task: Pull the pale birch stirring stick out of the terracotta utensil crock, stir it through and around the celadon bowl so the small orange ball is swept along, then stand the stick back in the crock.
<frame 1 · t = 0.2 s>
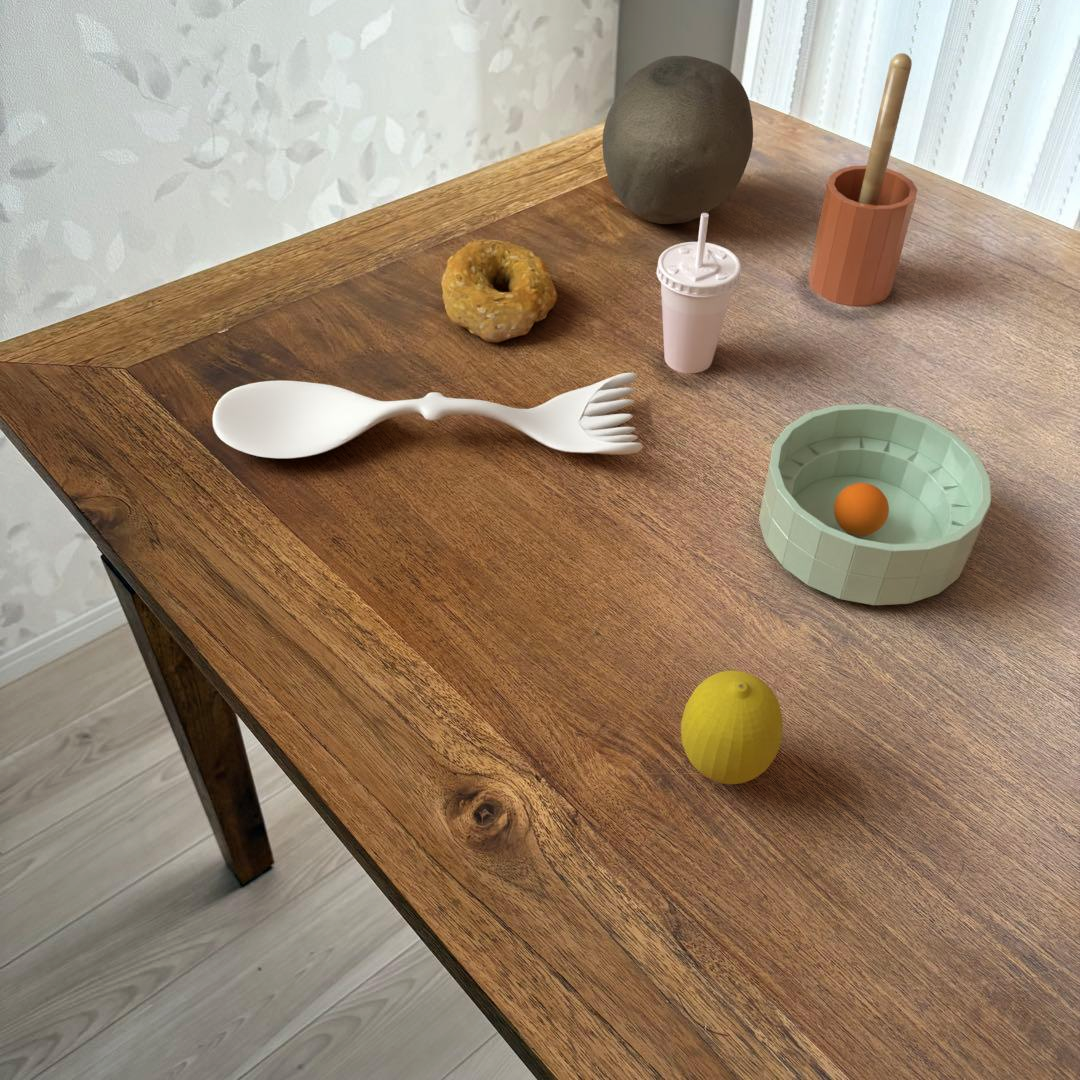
stick: (849, 282, 98), point 1 cm above the table, touching crock
ball: (861, 509, 76), point 3 cm above the table, touching bowl
bowl: (860, 535, 78), on the table
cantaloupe: (669, 221, 107), on the table
smoothie: (687, 368, 91), on the table
crock: (847, 290, 99), on the table
lemon: (722, 769, 65), on the table
spoon: (428, 438, 85), on the table
bagel: (500, 311, 97), on the table
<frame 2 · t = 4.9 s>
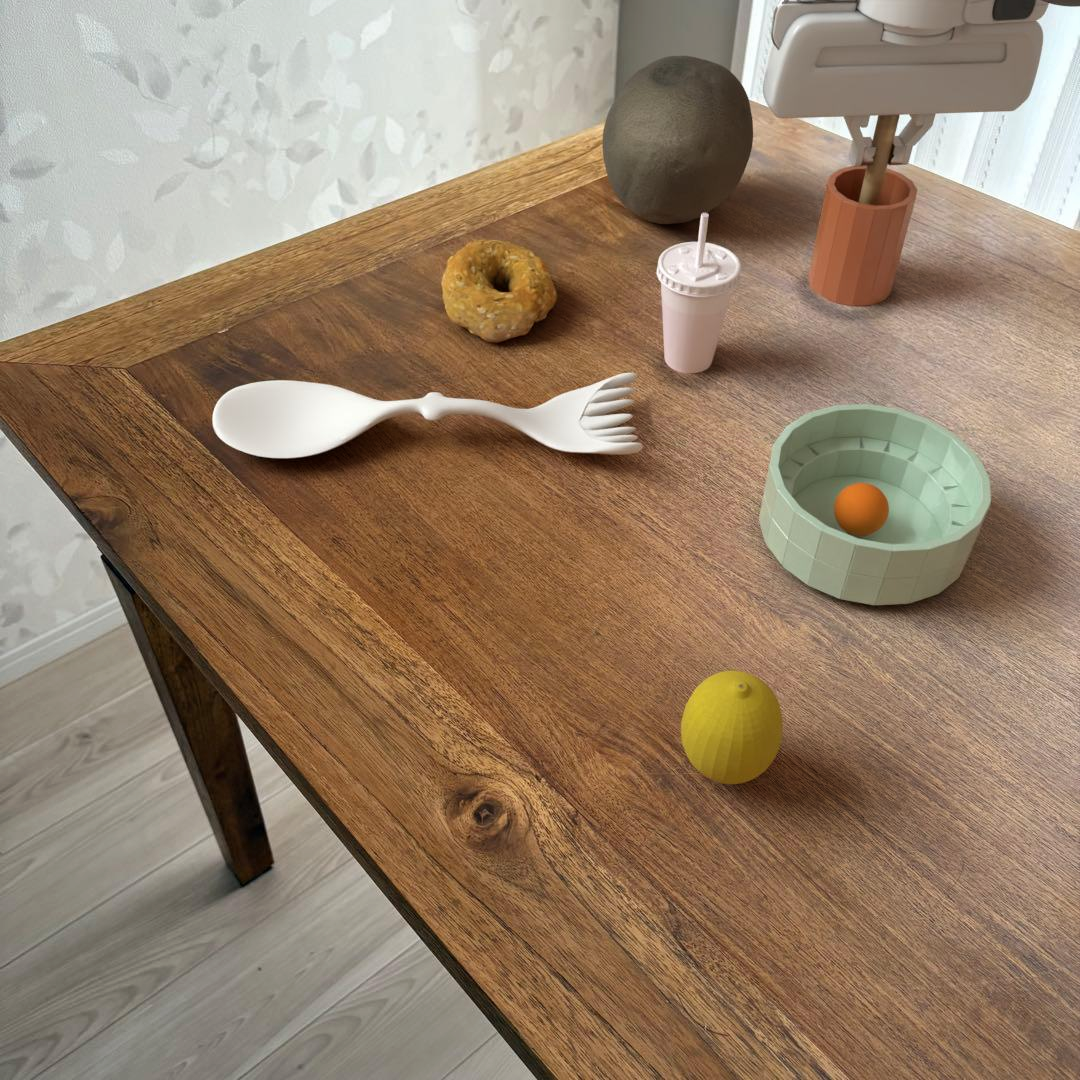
hand: (878, 162, 90), 12 cm above the table, tool pointing down, fingers closed on stick, 1 cm apart
stick: (849, 282, 98), point 1 cm above the table, touching crock, gripper
everything else where it was.
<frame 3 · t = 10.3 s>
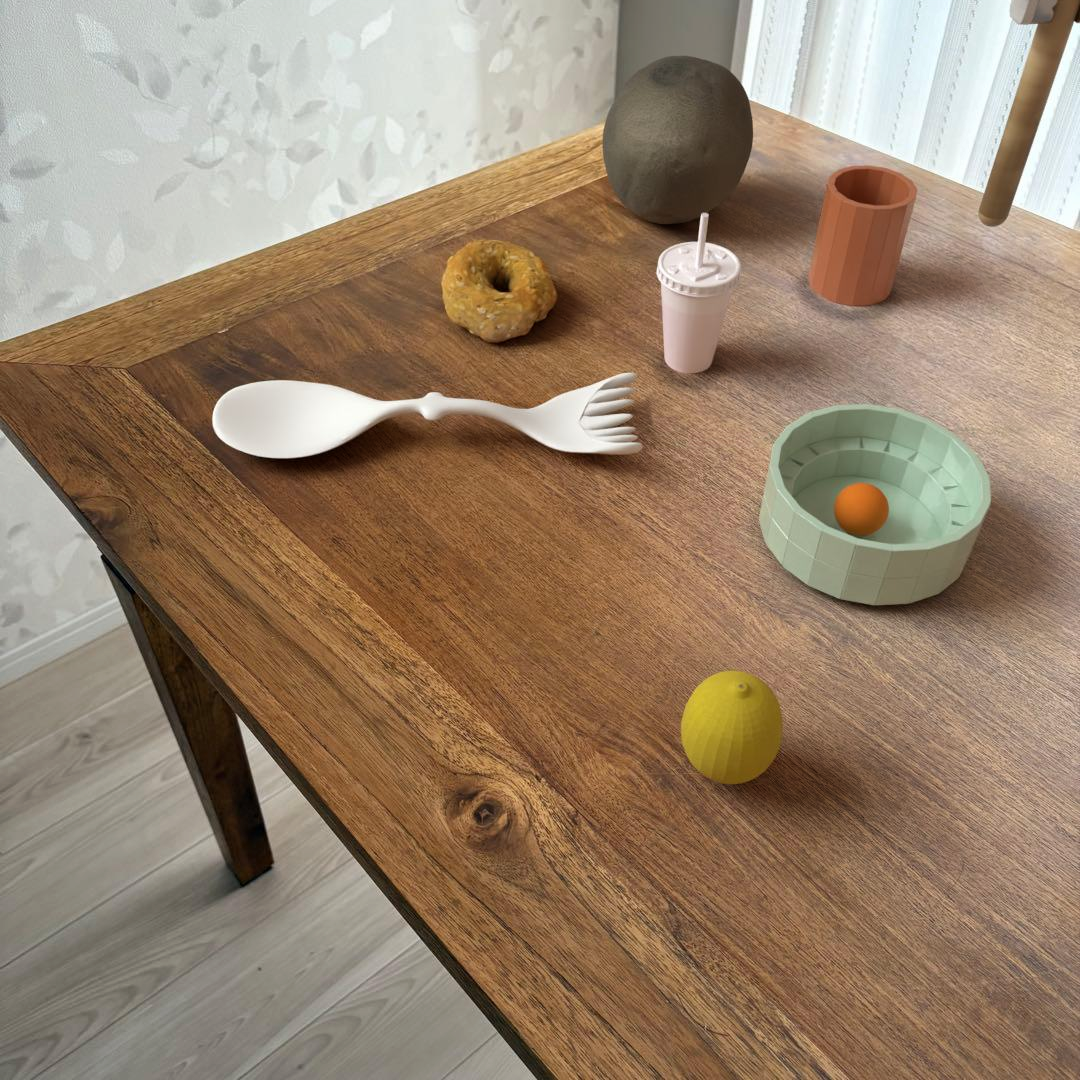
hand: (1057, 19, 55), 34 cm above the table, tool pointing down, fingers closed on stick
stick: (989, 224, 63), point 23 cm above the table, touching gripper
everything else where it was.
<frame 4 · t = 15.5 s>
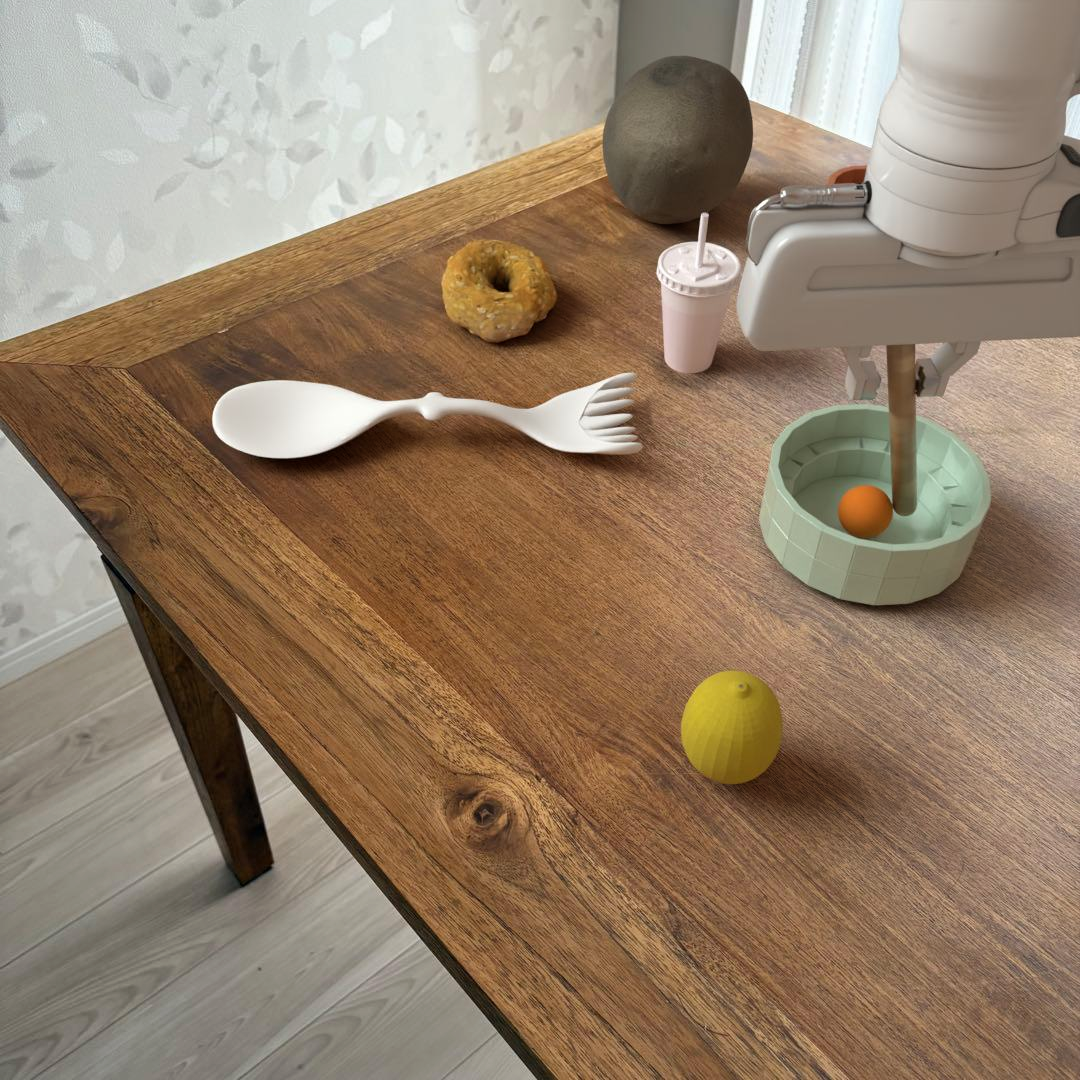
hand: (893, 392, 67), 14 cm above the table, tool pointing down, fingers closed on stick, 3 cm apart
stick: (904, 512, 75), point 3 cm above the table, tilted 15°, touching ball, gripper
ball: (865, 511, 76), point 3 cm above the table, tilted 9°, touching bowl, stick
everything else where it was.
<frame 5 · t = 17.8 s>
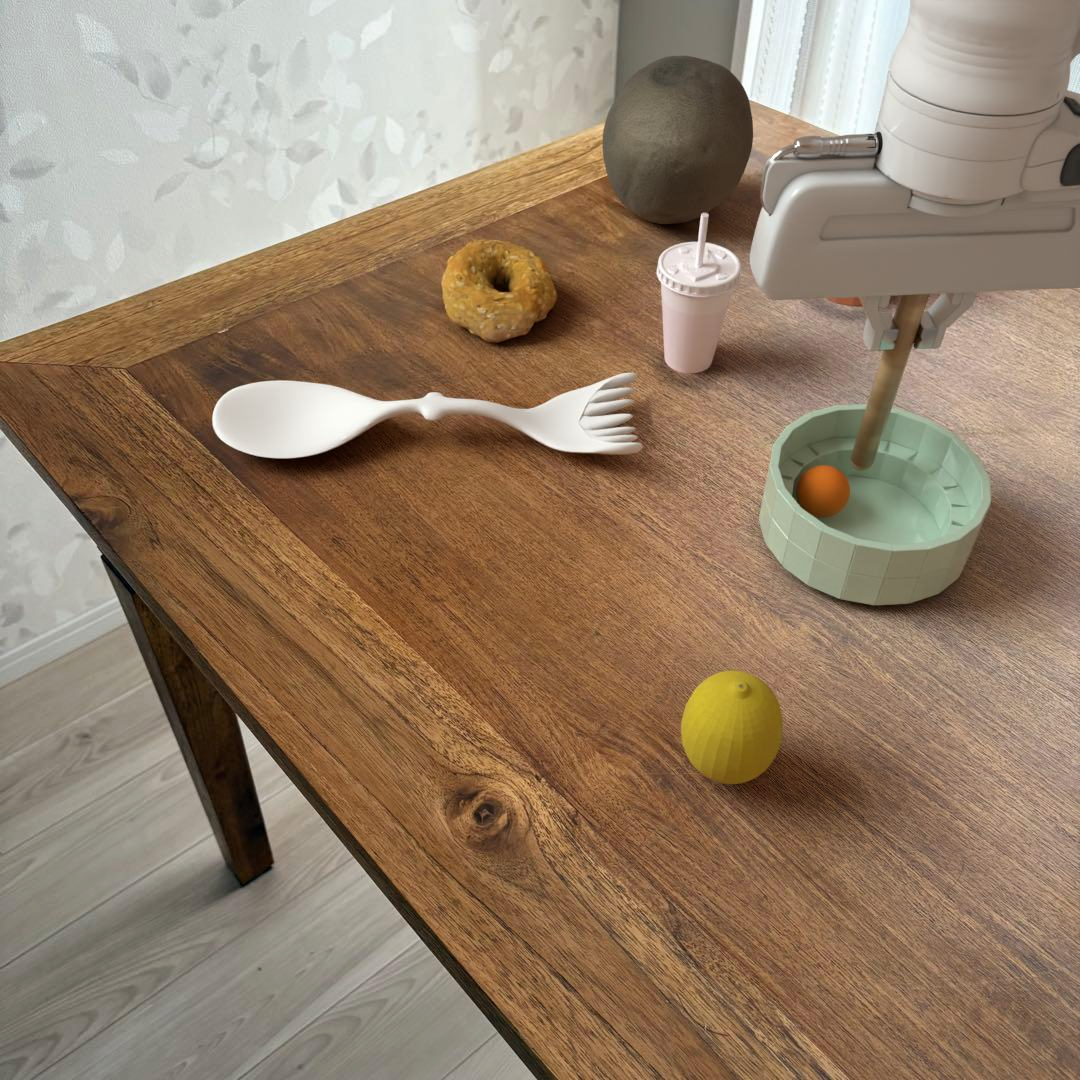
hand: (900, 344, 69), 14 cm above the table, tool pointing down, fingers closed on stick, 1 cm apart
stick: (859, 467, 78), point 3 cm above the table, touching gripper
ball: (823, 491, 77), point 3 cm above the table, tilted 93°, touching bowl
everything else where it was.
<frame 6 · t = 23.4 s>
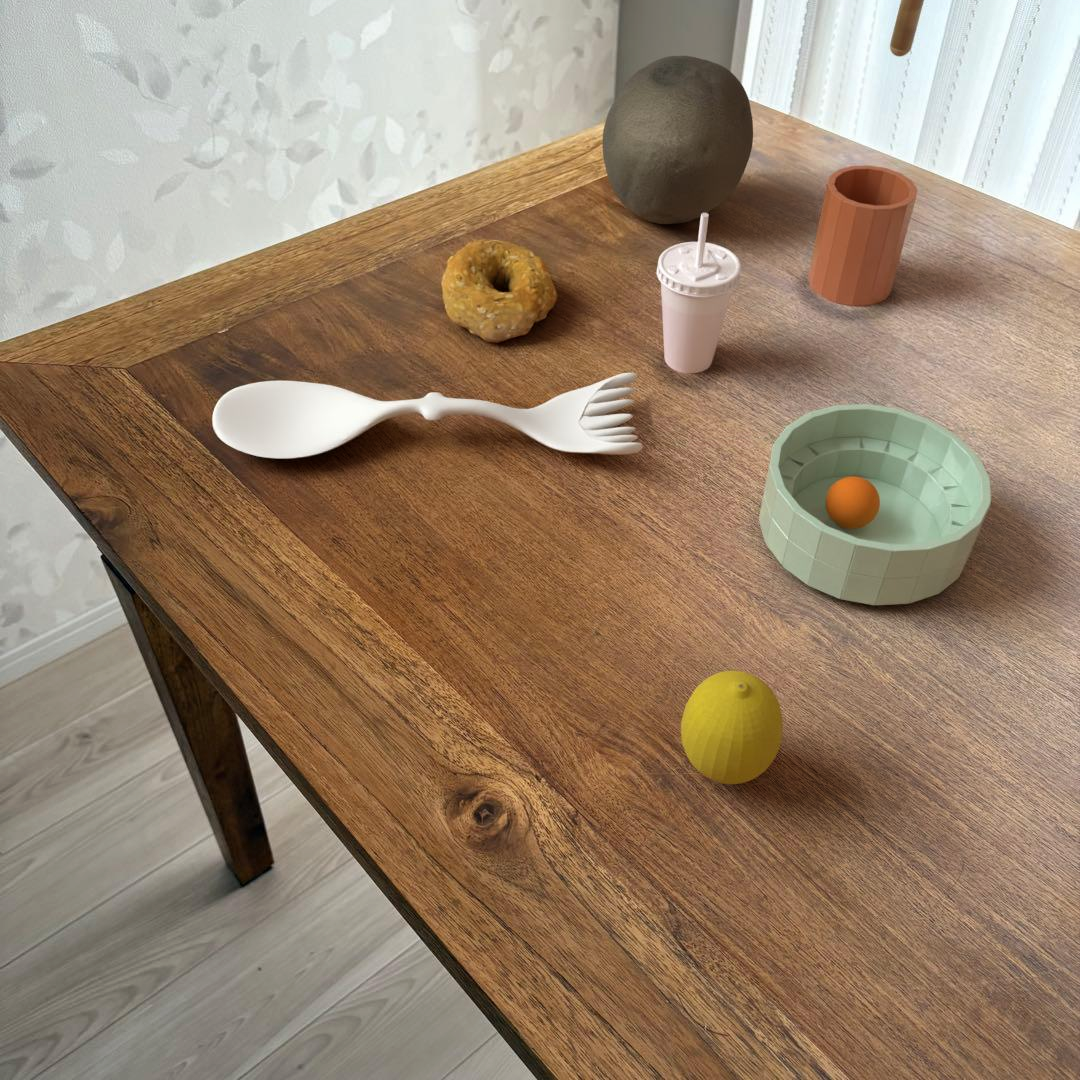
stick: (898, 55, 84), point 20 cm above the table, touching gripper
ball: (852, 502, 76), point 3 cm above the table, tilted 25°, touching bowl
everything else where it was.
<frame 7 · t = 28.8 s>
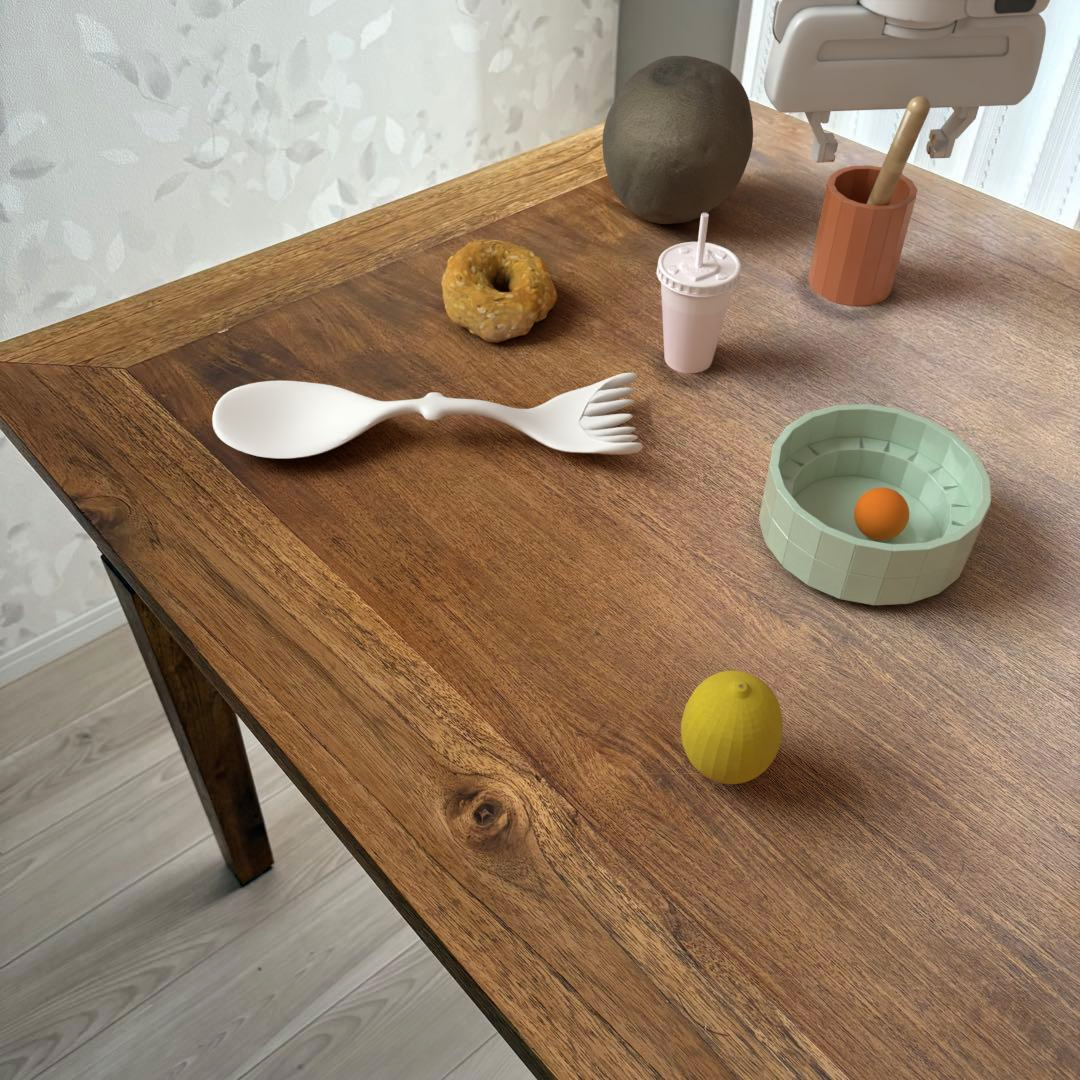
hand: (880, 157, 90), 13 cm above the table, tool pointing down, fingers open, 8 cm apart
stick: (845, 276, 99), point 1 cm above the table, tilted 19°, touching crock
ball: (881, 513, 75), point 3 cm above the table, tilted 41°, touching bowl
everything else where it was.
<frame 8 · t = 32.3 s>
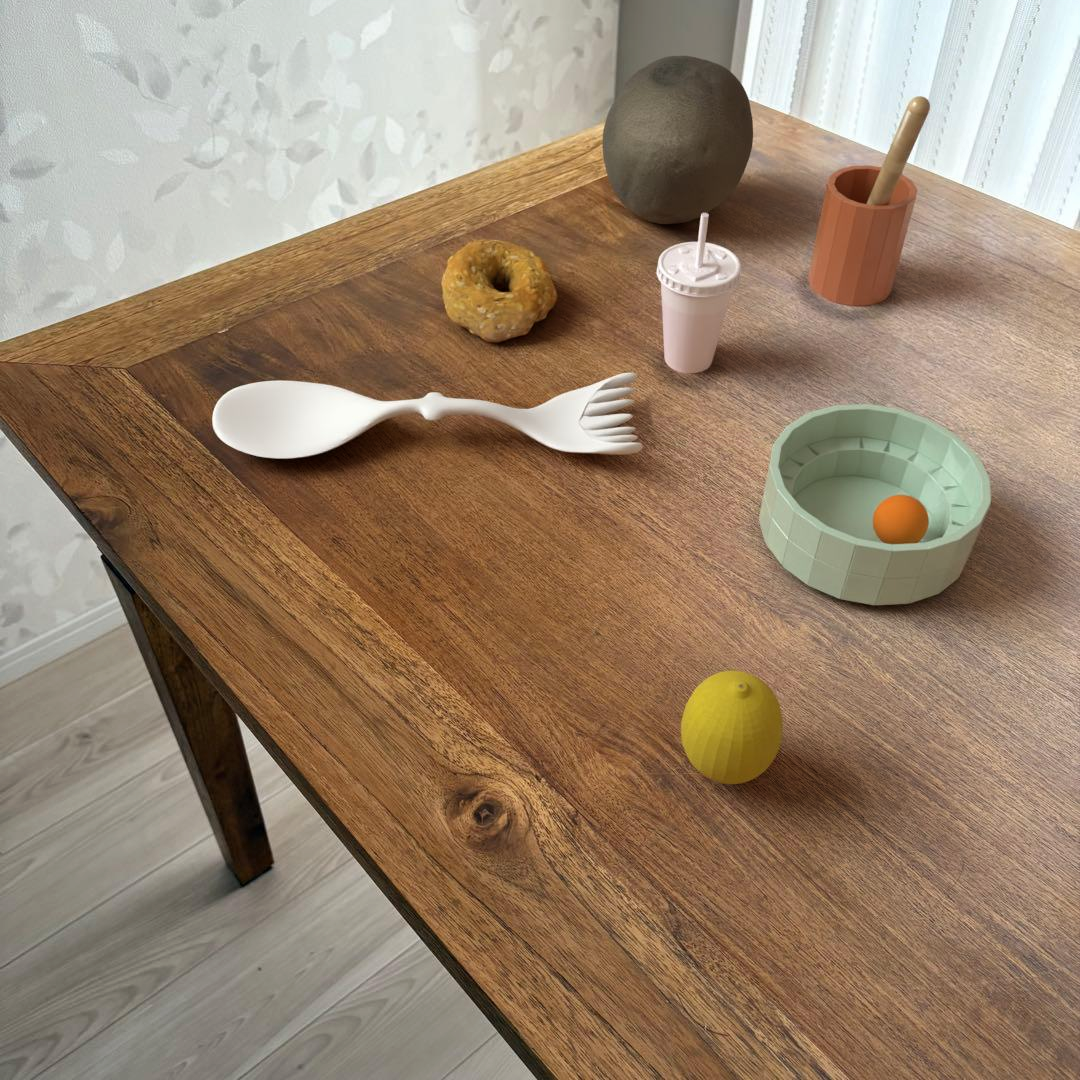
ball: (900, 521, 75), point 3 cm above the table, tilted 84°, touching bowl
everything else where it was.
at the end: ball moved 2.7 cm from its start; stick 0.9 cm off-centre in the crock, point 0.8 cm above the crock's base; stick tilted 19° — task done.
